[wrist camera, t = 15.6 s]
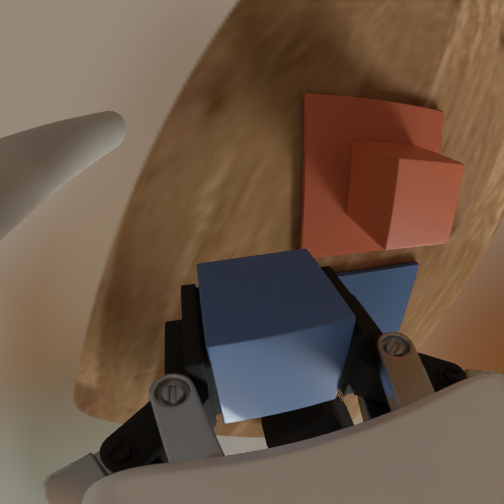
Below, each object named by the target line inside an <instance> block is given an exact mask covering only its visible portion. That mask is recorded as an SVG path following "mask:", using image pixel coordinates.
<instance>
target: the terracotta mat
mask: <svg viewBox="0 0 504 504" xmlns="http://www.w3.org/2000/svg"><path fill="white" fill-rule="evenodd" d="M442 126H443V111H440V110H435V109H430V108H425V107H420V106H415V105H409V104H403V103H397V102H391V101H384V100H377V99H369V98H360V97H351V96H340V95H327V94H310V93H304V123H303V178H302V207H301V230H300V249H305V248H306V249H307V250H308V251H309V253H310V254H311V255H312V257H313V258H317V257H326V256H334V255H343V254H351V253H360V252H368V251H376V250H384V249H383V248H382V247H381V246H380V245H379V244H378V243H377V242H375V241H374V240H373V239H372V238H371V237H370V236H369V235H368V234H367V233H366V232H365V231H364V230H363V229H361V228H360V227H359V226H358V225H357V224H356V223H355V222H354V221H353V220H351V219H350V218H349V217H348V216H347V214H346V213H347V204H348V194H349V184H350V172H351V159H352V144H353V140H361V141H376V142H389V143H400V144H410V145H416V146H419V147H421V148H424V149H427V150H430V151H432V152H435V153H438V154H440V148H441V138H442Z"/></svg>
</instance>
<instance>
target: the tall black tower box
mask: <svg viewBox="0 0 504 504" xmlns="http://www.w3.org/2000/svg"><path fill="white" fill-rule="evenodd" d="M261 421H262V427H263V431H264V435H265V439H266V443H267V446H268V448H273V447H277V446H282V445H286V444H290V443H295V442H299V441H303V440H307V439H310V438H314V437H318V436H321V435H325V434H328V433H332V432H335V431H338V430H341V429H344V428H348V427H351V426H354V424H353V421H352V419H351V417H350V414H349V412H348V409H347V407H346V405H345V404H344V402H343V401H342V400H341V399H339V398H338V397H337V396H336V398H335V399H333V400H329V401H326V402H322V403H319V404H315V405H311V406H307V407H304V408H300V409H295V410H291V411H287V412H283V413H278V414H274V415H269V416H264V417H262V419H261Z"/></svg>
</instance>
